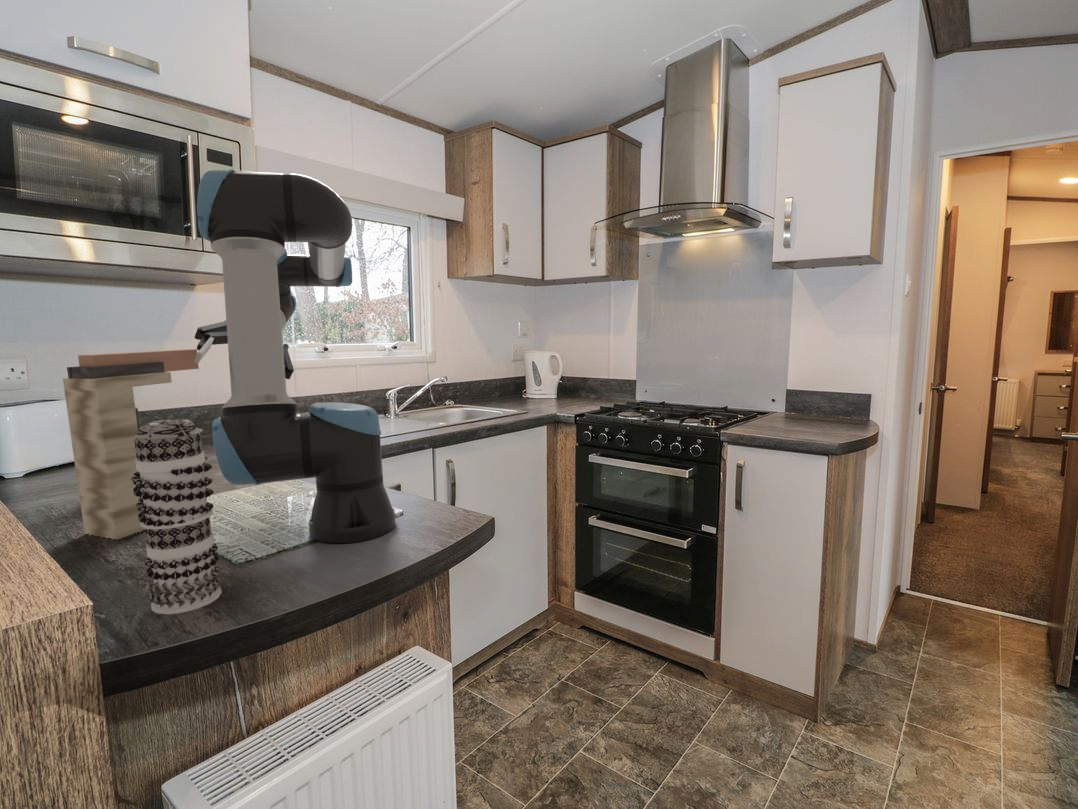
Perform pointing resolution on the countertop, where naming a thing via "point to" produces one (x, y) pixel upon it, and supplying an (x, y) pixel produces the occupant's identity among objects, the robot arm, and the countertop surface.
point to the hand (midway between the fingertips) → (232, 372)
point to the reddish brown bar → (144, 359)
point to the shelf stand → (107, 442)
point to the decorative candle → (176, 516)
